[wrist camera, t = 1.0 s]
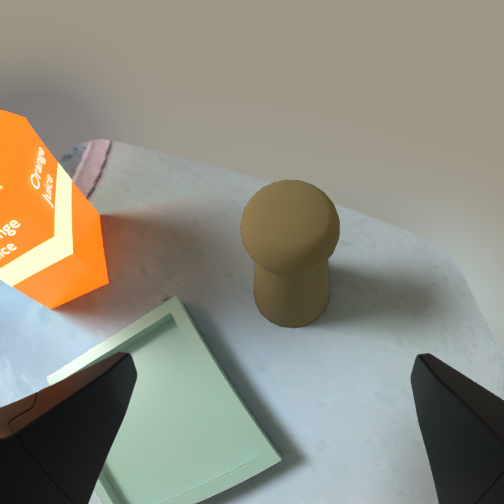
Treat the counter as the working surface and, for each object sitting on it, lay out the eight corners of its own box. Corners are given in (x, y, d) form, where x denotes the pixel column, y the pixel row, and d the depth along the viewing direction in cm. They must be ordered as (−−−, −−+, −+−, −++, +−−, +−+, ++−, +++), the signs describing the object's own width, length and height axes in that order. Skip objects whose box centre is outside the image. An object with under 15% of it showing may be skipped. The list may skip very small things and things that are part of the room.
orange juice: (50, 310, 26) (-104, 197, 9) (47, 241, 31) (-65, 123, 13) (110, 282, 27) (-44, 128, 10) (101, 213, 31) (-4, 67, 14)
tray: (282, 456, 19) (281, 460, 17) (129, 524, 16) (119, 529, 15) (182, 302, 25) (175, 295, 24) (58, 380, 23) (46, 377, 21)
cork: (244, 270, 26) (214, 183, 16) (312, 246, 26) (319, 150, 17) (268, 339, 23) (249, 284, 13) (342, 310, 23) (374, 238, 14)
